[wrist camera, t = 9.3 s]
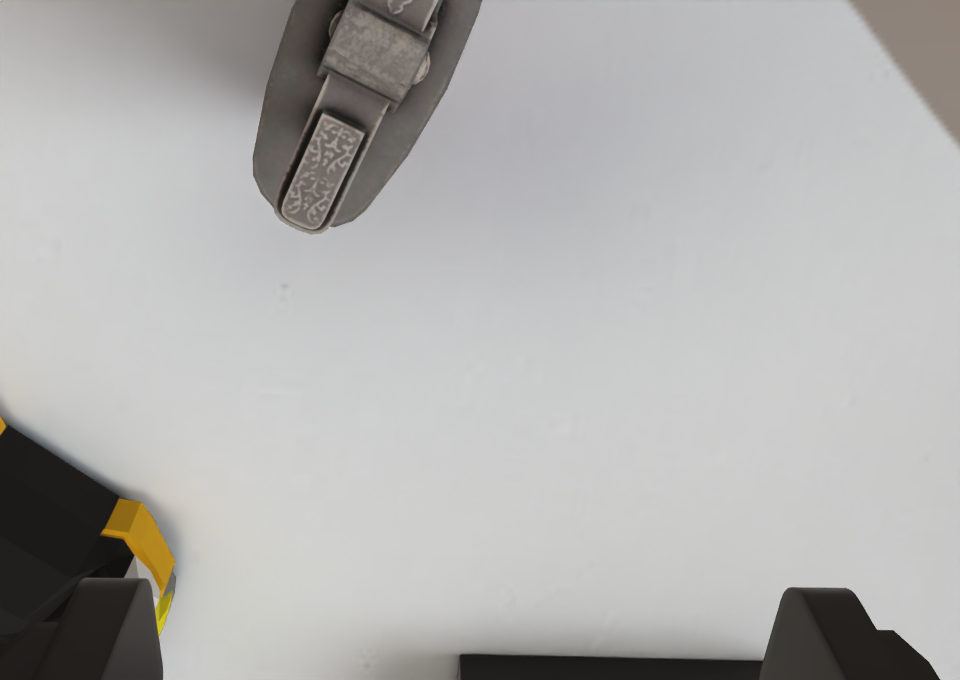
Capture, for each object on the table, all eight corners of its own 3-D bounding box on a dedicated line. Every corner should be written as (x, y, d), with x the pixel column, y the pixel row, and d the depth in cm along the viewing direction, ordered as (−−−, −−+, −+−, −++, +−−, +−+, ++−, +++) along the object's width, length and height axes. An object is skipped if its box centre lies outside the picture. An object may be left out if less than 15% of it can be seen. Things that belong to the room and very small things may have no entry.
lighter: (391, -184, 23) (371, -216, 14) (509, -114, 23) (562, -102, 15) (271, 104, 26) (191, 229, 17) (379, 157, 27) (358, 301, 18)
